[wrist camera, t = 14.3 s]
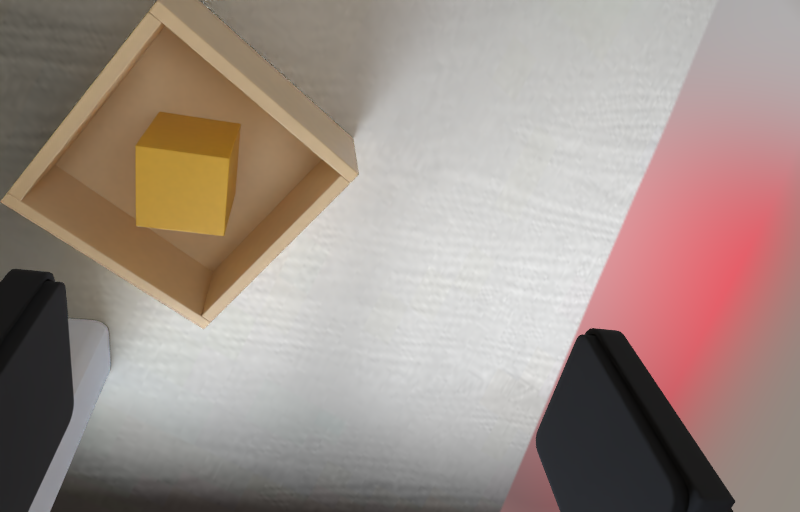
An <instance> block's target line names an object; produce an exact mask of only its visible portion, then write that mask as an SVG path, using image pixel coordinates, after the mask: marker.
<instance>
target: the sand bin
mask: <svg viewBox="0 0 800 512" xmlns="http://www.w3.org/2000/svg"><path fill="white" fill-rule="evenodd" d="M159 112H165V113H172V114H179V115H185V116H192V117H199V118H205V119H212V120H219V121H225V122H232V123H239V124H241V127H240V140H239V153H238V166H237V179H236V192H235V197H234V201H233V205H232V208H231V212H230V216H229V220H228V224H227V227H226V231H225V235H224V236H218V235H209V234H200V233H192V232H183V231H174V230H165V229H157V228H148V227H139V226H136V182H135V145H136V144H137V143H138V141H139V140H140V138H141V137H142V135H143V134H144V133H145V131H146V130H147V128H148V127H149V126H150V124H151V123H152V121H153V120H154V118H155V117H156V116H157V114H158V113H159ZM358 175H359V172H358V166H357V159H356V153H355V146H354V140H353V138H352V137H351V136H350V135H349V134H348V133H347V132H345V131H344V130H343V129H342V128H341V127H340V126H339V125H338V124H336V123H335V122H334V121H333V120H332V119H331V118H330V117H329V116H328V115H326V114H325V113H324V112H323V111H322V110H321V109H320V108H319V107H317V106H316V105H315V104H314V103H313V102H312V101H311V100H310V99H309V98H307V97H306V96H305V95H304V94H303V93H302V92H301V91H300V90H298V89H297V88H296V87H295V86H294V85H293V84H292V83H291V82H290V81H288V80H287V79H286V78H285V77H284V76H283V75H282V74H281V73H279V72H278V71H277V70H276V69H275V68H274V67H273V66H272V65H271V64H269V63H268V62H267V61H266V60H265V59H264V58H263V57H262V56H260V55H259V54H258V53H257V52H256V51H255V50H254V49H253V48H252V47H250V46H249V45H248V44H247V43H246V42H245V41H244V40H243V39H241V38H240V37H239V36H238V35H237V34H236V33H235V32H234V31H233V30H231V29H230V28H229V27H228V26H227V25H226V24H225V23H224V22H222V21H221V20H220V19H219V18H218V17H217V16H216V15H215V14H214V13H212V12H211V11H210V10H209V9H208V8H207V7H206V6H205V5H203V4H202V3H201V2H200V1H199V0H157V1H156V2H155V4H154V5H153V6H152V7H151V9H150V10H149V12H148V13H147V14H146V15H145V16H144V18H143V19H142V20H141V22H140V23H139V24H138V25H137V27H136V28H135V29H134V31H133V32H132V33H131V34H130V36H129V37H128V38H127V39H126V41H125V42H124V43H123V45H122V46H121V47H120V48H119V50H118V51H117V52H116V54H115V55H114V56H113V57H112V59H111V60H110V61H109V63H108V64H107V65H106V66H105V68H104V69H103V70H102V72H101V73H100V74H99V75H98V77H97V78H96V79H95V81H94V82H93V83H92V84H91V86H90V87H89V88H88V90H87V91H86V92H85V93H84V95H83V96H82V97H81V99H80V100H79V101H78V102H77V104H76V105H75V106H74V107H73V109H72V110H71V111H70V113H69V114H68V115H67V116H66V118H65V119H64V120H63V122H62V123H61V124H60V125H59V127H58V128H57V129H56V131H55V132H54V133H53V134H52V136H51V137H50V138H49V140H48V141H47V142H46V143H45V145H44V146H43V147H42V149H41V150H40V151H39V152H38V154H37V155H36V156H35V158H34V159H33V160H32V161H31V163H30V164H29V165H28V166H27V168H26V169H25V170H24V172H23V173H22V174H21V175H20V177H19V178H18V179H17V181H16V182H15V183H14V184H13V186H12V187H11V188H10V190H9V191H8V192H7V193H6V195H5V196H4V197H3V199H2V200H1V203H3V204H4V205H6V206H8V207H9V208H11V209H12V210H14V211H16V212H17V213H19V214H20V215H22V216H24V217H25V218H27V219H28V220H30V221H32V222H33V223H35V224H36V225H38V226H40V227H41V228H43V229H44V230H46V231H48V232H49V233H51V234H52V235H54V236H56V237H57V238H59V239H60V240H62V241H64V242H65V243H67V244H68V245H70V246H72V247H73V248H75V249H76V250H78V251H79V252H81V253H83V254H84V255H86V256H87V257H89V258H91V259H92V260H94V261H95V262H97V263H99V264H100V265H102V266H103V267H105V268H107V269H108V270H110V271H111V272H113V273H115V274H116V275H118V276H119V277H121V278H123V279H124V280H126V281H127V282H129V283H131V284H132V285H134V286H135V287H137V288H139V289H140V290H142V291H143V292H145V293H147V294H148V295H150V296H151V297H153V298H154V299H156V300H158V301H159V302H161V303H162V304H164V305H166V306H167V307H169V308H170V309H172V310H174V311H175V312H177V313H178V314H180V315H182V316H183V317H185V318H186V319H188V320H190V321H191V322H193V323H194V324H196V325H198V326H199V327H201V328H202V329H205V328H206V327H207V326H208V325H209V324H210V323H211V321H213V320H214V319H215V318H216V317H217V316H218V315H219V314H220V313H221V312H222V311H223V310H224V309H225V308H226V307H227V306H228V305H229V304H230V303H231V302H232V301H233V300H234V299H235V298H236V297H237V296H238V295H239V294H240V293H241V292H242V291H243V290H244V289H245V288H246V287H247V286H248V285H249V284H250V283H251V282H252V281H253V280H254V279H255V278H256V277H257V276H258V275H259V274H260V273H261V272H262V271H263V270H264V269H265V268H266V267H267V266H268V265H269V264H270V263H271V262H272V261H273V260H274V259H275V258H276V257H277V256H278V255H279V254H280V253H281V252H282V251H283V250H284V249H285V248H286V247H287V246H288V245H289V244H290V243H291V242H292V241H293V240H294V239H295V238H296V237H297V236H298V235H299V234H300V233H301V232H302V231H303V230H304V229H305V228H306V227H307V226H308V225H309V224H310V223H311V222H312V221H313V220H314V219H315V218H316V217H317V216H318V215H319V214H320V213H321V212H322V211H323V210H324V209H325V208H326V207H327V206H328V205H329V204H330V203H331V202H332V201H333V200H334V199H335V198H336V197H337V196H338V195H339V194H340V193H341V192H342V191H343V190H344V189H345V188H346V187H347V186H348V185H349V184H350V182H352V181H353V180H354V179H355V178H356V177H357V176H358Z"/></svg>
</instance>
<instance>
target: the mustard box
mask: <svg viewBox="0 0 800 512" xmlns="http://www.w3.org/2000/svg"><path fill="white" fill-rule="evenodd" d="M240 127H241V124H239V123H232V122H225V121H219V120H212V119H205V118H199V117H192V116H185V115H179V114H172V113H165V112H159V113H158V114H157V116H156V117H155V118H154V120H153V121H152V123H151V124H150V126H149V127H148V128H147V130H146V131H145V133H144V134H143V135H142V137H141V138H140V140H139V141H138V143H137V144H136V145H135V182H136V226H139V227H148V228H157V229H165V230H174V231H183V232H192V233H200V234H209V235H218V236H224V235H225V231H226V227H227V224H228V220H229V216H230V212H231V208H232V205H233V201H234V197H235V192H236V179H237V166H238V153H239V140H240Z"/></svg>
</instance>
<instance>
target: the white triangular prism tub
mask: <svg viewBox="0 0 800 512" xmlns="http://www.w3.org/2000/svg"><path fill="white" fill-rule="evenodd" d="M68 325H69V339H70V352H71V366H72V379H73V393H74V408H73V414H72V417H71V421H70V423H69V425H68V427H67V430H66V432H65V434H64V436H63V438H62V440H61V443H60V445H59V447H58V449H57V451H56V453H55V455H54V458H53V460H52V462H51V464H50V466H49V468H48V470H47V473H46V475H45V477H44V479H43V481H42V483H41V485H40V488H39V490H38V492H37V494H36V496H35V498H34V501H33V503H32V505H31V507H30V509H29V511H28V512H50V510H51V508H52V506H53V503H54V501H55V499H56V496H57V494H58V491H59V489H60V487H61V484H62V482H63V480H64V477H65V475H66V473H67V470H68V468H69V466H70V463H71V461H72V459H73V456H74V454H75V451H76V449H77V447H78V444H79V442H80V440H81V437H82V435H83V433H84V430H85V428H86V426H87V423H88V421H89V419H90V416H91V414H92V411H93V409H94V407H95V404H96V402H97V400H98V397H99V395H100V393H101V390H102V388H103V386H104V383H105V381H106V379H107V376H108V374H109V371H110V367H111V362H110V342H109V331H108V328H107V326H106V325H104V324H103V323H102V322H99V321H95V320H85V319H72V318H68Z"/></svg>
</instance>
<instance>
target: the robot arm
mask: <svg viewBox="0 0 800 512" xmlns="http://www.w3.org/2000/svg"><path fill="white" fill-rule="evenodd" d="M73 408H74V393H73V379H72V366H71V352H70V339H69V325H68V312H67V298H66V288H65V285H64V283H62V282H55V280H54V277H53V274H52V273H50V272H41V271H32V270H22V269H12V270H10V271H9V272H8V273H7V275H6V276H5V277H4V278H3V280H2V281H1V282H0V512H28V511H29V509H30V507H31V505H32V503H33V501H34V498H35V496H36V494H37V492H38V490H39V488H40V485H41V483H42V481H43V479H44V477H45V475H46V473H47V470H48V468H49V466H50V464H51V462H52V460H53V458H54V455H55V453H56V451H57V449H58V447H59V445H60V443H61V440H62V438H63V436H64V434H65V432H66V430H67V427H68V425H69V423H70V421H71V417H72V414H73ZM536 448H537V451H538V454H539V457H540V459H541V462H542V465H543V467H544V470H545V473H546V475H547V478H548V480H549V483H550V486H551V488H552V491H553V494H554V496H555V499H556V501H557V504H558V506H559V509H560V512H733V510H732V509H731V507H732V506H733V504H734V503H735V500H734V499H733V497H732V496H731V494H730V493H729V491H728V490H727V488H726V487H725V485H724V484H723V482H722V481H721V479H720V478H719V476H718V475H717V473H716V472H715V470H714V469H713V467H712V466H711V465H710V463H709V461H708V460H707V458H706V457H705V456H704V454H703V452H702V451H701V450H700V448H699V446H698V445H697V443H696V442H695V440H694V439H693V438H692V436H691V435H690V433H689V432H688V430H687V429H686V427H685V426H684V424H683V423H682V421H681V420H680V418H679V417H678V415H677V414H676V412H675V411H674V409H673V408H672V406H671V405H670V403H669V402H668V400H667V399H666V397H665V396H664V394H663V393H662V391H661V390H660V388H659V387H658V385H657V384H656V382H655V381H654V379H653V378H652V376H651V375H650V373H649V372H648V370H647V369H646V367H645V366H644V364H643V363H642V361H641V360H640V359H639V357H638V355H637V354H636V352H635V351H634V349H633V348H632V346H631V345H630V344H629V342H628V340H627V339H626V338H625V336H624V335H623V334H622V333H621V332H619V331H615V330H605V329H594V328H592V329H589V330H588V331H587V332H586V333H585V335H580V336H579V337H578V338H577V340H576V342H575V344H574V347H573V349H572V351H571V354H570V356H569V358H568V360H567V363H566V365H565V367H564V370H563V372H562V375H561V377H560V380H559V382H558V384H557V386H556V389H555V391H554V393H553V396H552V398H551V400H550V403H549V405H548V408H547V410H546V412H545V415H544V417H543V419H542V422H541V424H540V427H539V429H538V432H537V435H536Z"/></svg>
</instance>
